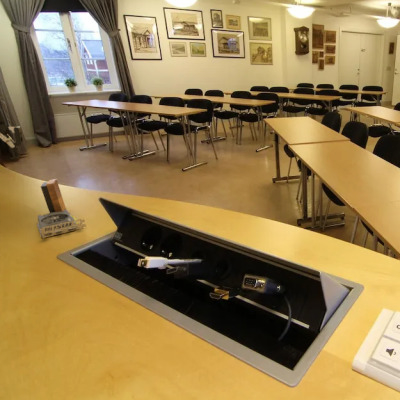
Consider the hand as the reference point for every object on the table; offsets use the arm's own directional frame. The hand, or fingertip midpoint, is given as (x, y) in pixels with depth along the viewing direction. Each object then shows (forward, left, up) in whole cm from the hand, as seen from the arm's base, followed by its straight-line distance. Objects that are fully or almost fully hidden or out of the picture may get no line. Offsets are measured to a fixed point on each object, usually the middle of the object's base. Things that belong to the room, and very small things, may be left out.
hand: (3, 159), depth 107 cm
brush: (+10, 0, -23) cm, 25 cm away
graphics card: (+12, -12, -23) cm, 28 cm away
